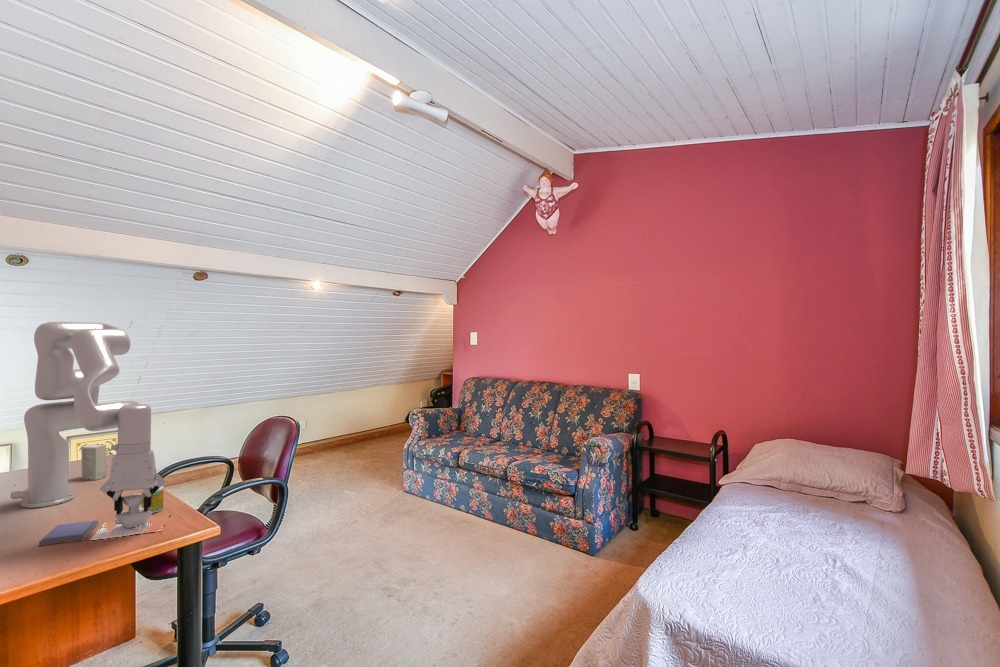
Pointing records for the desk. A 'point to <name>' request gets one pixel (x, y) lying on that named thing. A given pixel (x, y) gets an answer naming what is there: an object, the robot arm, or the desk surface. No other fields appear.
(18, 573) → the desk surface
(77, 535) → the ink pad
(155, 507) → the supplement bottle
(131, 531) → the paper
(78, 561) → the desk surface
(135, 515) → the stamp
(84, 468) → the skincare box
